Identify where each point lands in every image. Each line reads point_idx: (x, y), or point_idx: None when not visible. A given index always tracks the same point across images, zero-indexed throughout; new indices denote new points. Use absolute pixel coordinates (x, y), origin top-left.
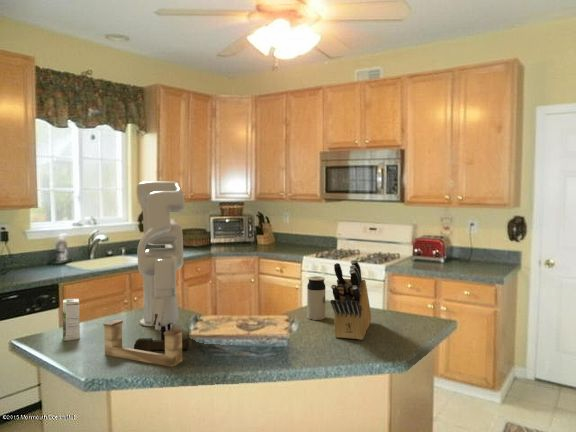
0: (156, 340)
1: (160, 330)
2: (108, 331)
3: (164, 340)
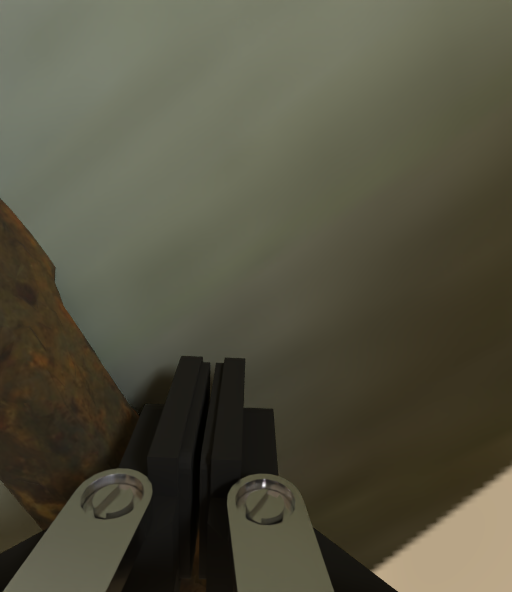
0: (5, 416)
1: (11, 572)
2: None
3: None
